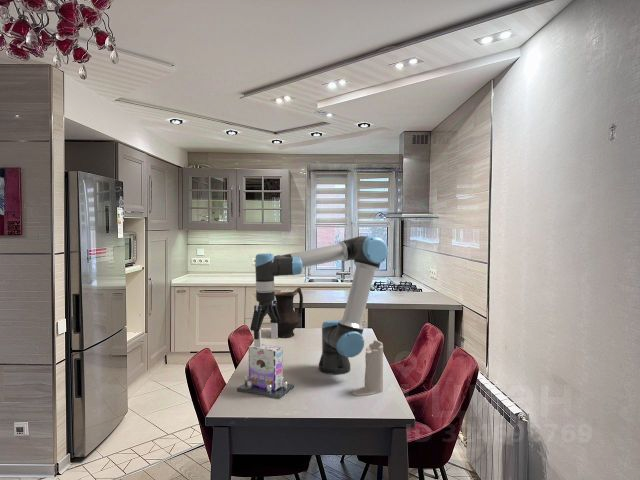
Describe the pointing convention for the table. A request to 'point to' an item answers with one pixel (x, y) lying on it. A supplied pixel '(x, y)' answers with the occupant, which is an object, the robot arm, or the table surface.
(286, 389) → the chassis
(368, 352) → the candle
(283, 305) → the jug
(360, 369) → the table surface
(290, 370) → the table surface
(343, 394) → the table surface
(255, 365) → the candy box
